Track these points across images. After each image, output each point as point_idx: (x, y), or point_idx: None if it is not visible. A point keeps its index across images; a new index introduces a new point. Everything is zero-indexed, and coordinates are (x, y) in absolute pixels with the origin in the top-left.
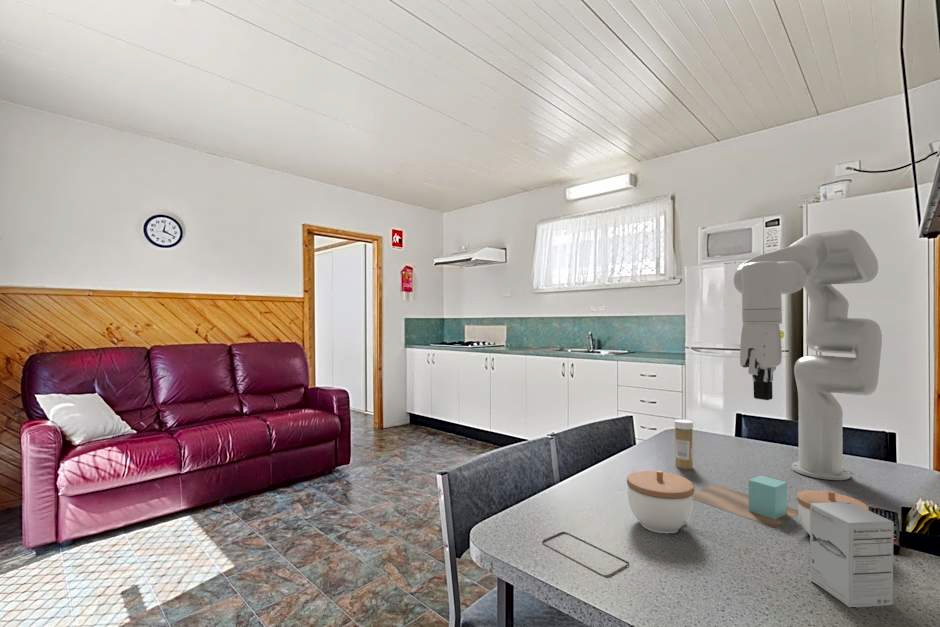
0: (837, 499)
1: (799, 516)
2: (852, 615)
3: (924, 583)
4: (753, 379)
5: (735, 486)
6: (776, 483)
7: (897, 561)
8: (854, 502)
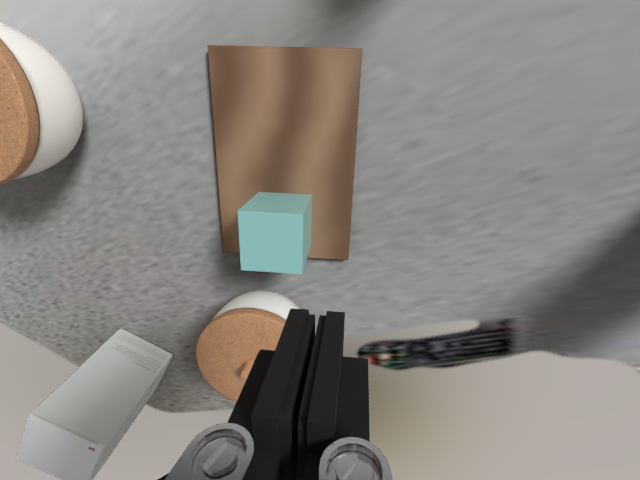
0: None
1: (231, 300)
2: None
3: None
4: (194, 447)
5: (423, 83)
6: (272, 262)
7: None
8: None
